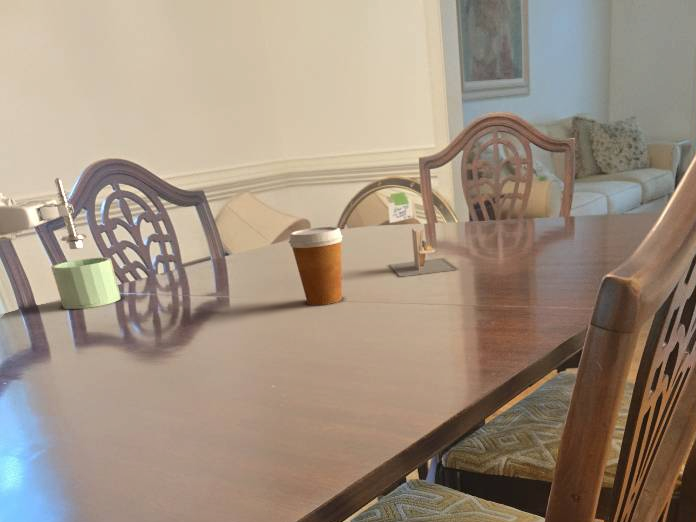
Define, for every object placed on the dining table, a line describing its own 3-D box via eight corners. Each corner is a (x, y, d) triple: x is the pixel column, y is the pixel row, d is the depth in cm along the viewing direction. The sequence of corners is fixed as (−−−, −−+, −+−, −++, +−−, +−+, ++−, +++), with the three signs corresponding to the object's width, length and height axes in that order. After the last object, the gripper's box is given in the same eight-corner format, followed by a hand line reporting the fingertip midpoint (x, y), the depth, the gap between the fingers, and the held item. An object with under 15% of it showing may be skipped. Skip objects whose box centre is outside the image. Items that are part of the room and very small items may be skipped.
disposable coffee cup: (287, 306, 138) (276, 235, 133) (319, 294, 145) (310, 226, 140) (329, 308, 134) (319, 234, 128) (360, 295, 141) (352, 225, 135)
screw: (82, 248, 154) (59, 251, 154) (93, 245, 158) (70, 247, 158) (63, 177, 147) (39, 179, 148) (74, 175, 152) (51, 178, 152)
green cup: (57, 311, 155) (45, 270, 152) (70, 300, 166) (58, 262, 162) (115, 304, 157) (104, 263, 153) (124, 294, 167) (114, 255, 163)
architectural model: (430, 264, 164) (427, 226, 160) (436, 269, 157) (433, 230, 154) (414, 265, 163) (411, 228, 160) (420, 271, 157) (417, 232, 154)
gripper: (19, 228, 162) (86, 221, 163) (-13, 240, 144) (62, 232, 145) (9, 195, 159) (77, 188, 160) (-25, 204, 141) (52, 196, 142)
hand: (70, 209), depth 153 cm, fingers closed on screw, 2 cm apart
